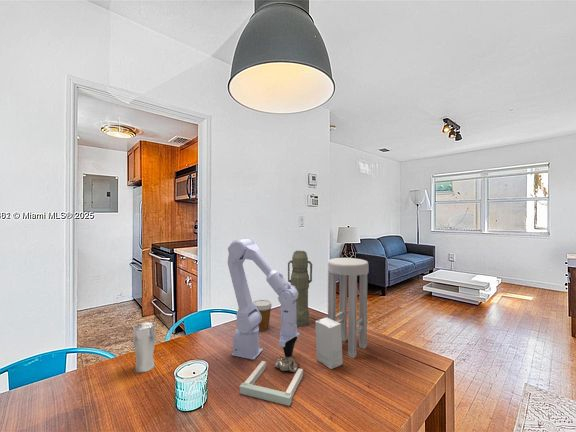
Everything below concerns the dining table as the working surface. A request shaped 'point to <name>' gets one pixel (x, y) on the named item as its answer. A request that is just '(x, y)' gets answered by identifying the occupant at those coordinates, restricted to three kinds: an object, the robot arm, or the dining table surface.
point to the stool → (349, 299)
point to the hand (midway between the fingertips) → (288, 357)
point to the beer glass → (144, 346)
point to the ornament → (286, 364)
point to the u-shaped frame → (267, 393)
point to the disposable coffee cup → (263, 313)
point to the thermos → (300, 285)
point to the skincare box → (329, 342)
